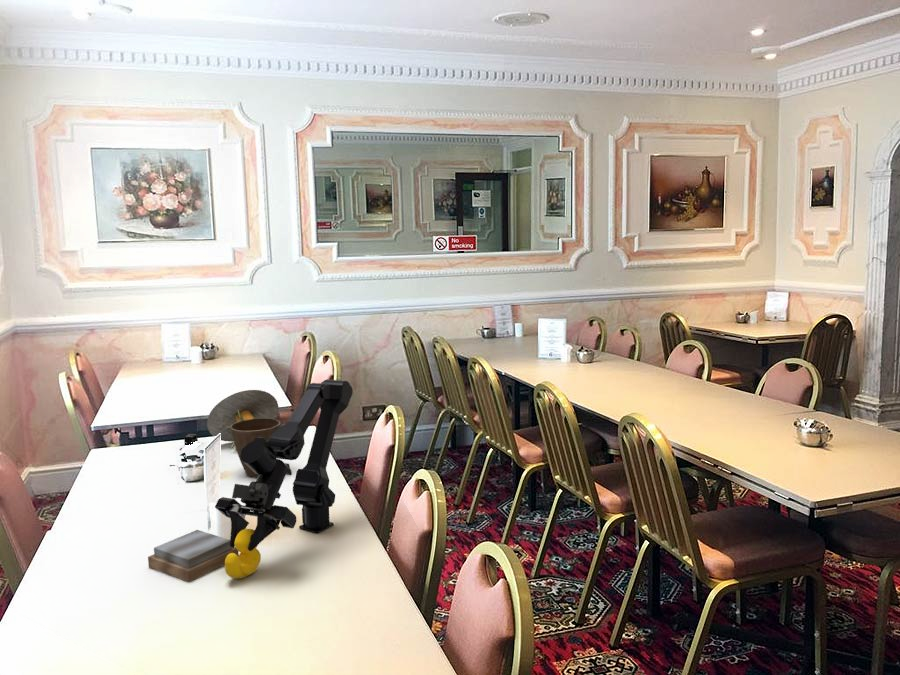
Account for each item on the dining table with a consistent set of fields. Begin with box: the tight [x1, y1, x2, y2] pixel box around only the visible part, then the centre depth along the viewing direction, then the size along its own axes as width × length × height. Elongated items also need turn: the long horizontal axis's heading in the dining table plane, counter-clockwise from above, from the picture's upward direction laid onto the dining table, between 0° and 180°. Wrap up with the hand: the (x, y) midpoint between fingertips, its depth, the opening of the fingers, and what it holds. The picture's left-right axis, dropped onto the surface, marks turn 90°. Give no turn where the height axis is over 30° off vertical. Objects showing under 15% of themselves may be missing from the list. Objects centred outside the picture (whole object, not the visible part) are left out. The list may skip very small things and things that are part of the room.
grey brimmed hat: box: [206, 389, 279, 451], centre depth 263 cm, size 25×18×25 cm
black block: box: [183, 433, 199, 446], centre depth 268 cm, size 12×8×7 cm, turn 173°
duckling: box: [224, 528, 262, 579], centre depth 168 cm, size 11×5×10 cm, turn 153°
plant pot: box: [231, 418, 281, 478], centre depth 235 cm, size 15×15×16 cm
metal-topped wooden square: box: [147, 529, 240, 583], centre depth 174 cm, size 14×14×4 cm
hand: (240, 548), depth 166 cm, fingers closed on duckling, 4 cm apart
